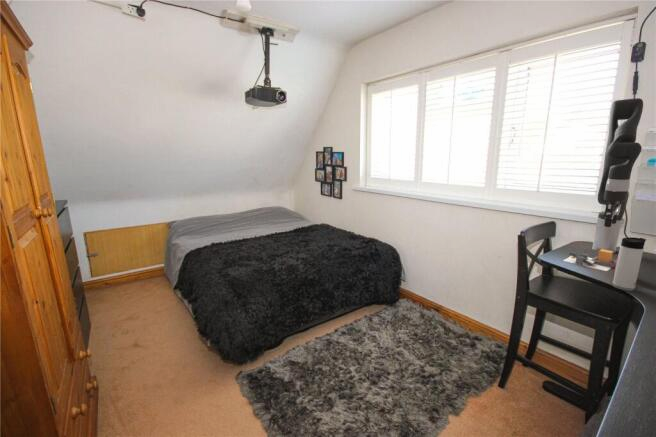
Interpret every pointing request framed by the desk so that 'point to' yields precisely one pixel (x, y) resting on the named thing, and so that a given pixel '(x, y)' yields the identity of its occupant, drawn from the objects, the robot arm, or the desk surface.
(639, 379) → the desk surface
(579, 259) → the switch mount
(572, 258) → the breaker panel
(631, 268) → the travel mug
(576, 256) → the breaker rocker
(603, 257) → the block
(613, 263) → the lockout socket
